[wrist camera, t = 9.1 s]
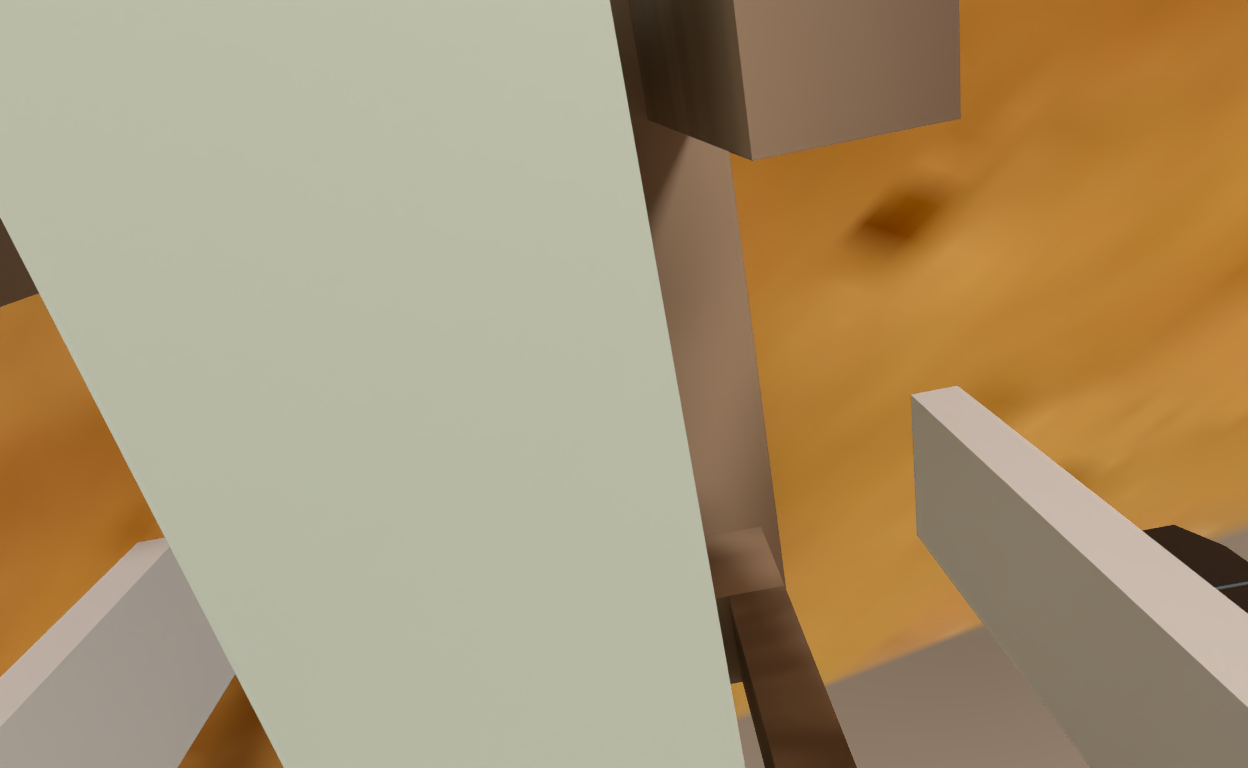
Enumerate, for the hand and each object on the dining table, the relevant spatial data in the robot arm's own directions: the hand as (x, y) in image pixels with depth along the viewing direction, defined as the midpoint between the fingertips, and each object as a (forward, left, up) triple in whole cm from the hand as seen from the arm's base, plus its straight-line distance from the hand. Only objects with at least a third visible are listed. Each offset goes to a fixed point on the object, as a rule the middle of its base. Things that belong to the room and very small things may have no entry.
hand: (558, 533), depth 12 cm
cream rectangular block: (0, 0, -5) cm, 5 cm away
